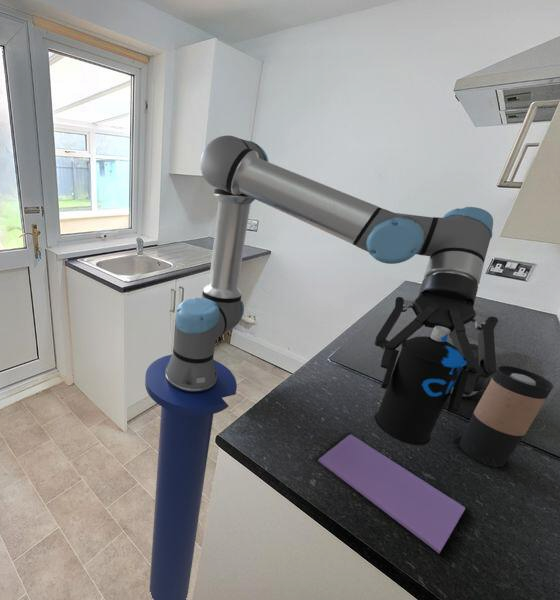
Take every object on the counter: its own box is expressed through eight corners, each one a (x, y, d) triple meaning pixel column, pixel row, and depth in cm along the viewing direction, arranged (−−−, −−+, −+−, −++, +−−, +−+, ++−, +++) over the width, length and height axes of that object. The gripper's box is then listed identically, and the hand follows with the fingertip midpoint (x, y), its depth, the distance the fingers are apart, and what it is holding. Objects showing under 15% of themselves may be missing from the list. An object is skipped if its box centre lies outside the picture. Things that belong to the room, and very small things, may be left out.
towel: (318, 461, 64) (318, 458, 63) (349, 435, 71) (350, 433, 70) (439, 553, 48) (440, 551, 48) (464, 510, 55) (465, 507, 55)
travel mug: (452, 434, 73) (489, 361, 65) (495, 447, 70) (539, 372, 62) (465, 458, 66) (508, 380, 59) (513, 474, 63) (565, 393, 56)
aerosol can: (363, 417, 58) (398, 320, 51) (392, 408, 61) (429, 315, 54) (410, 451, 51) (458, 344, 44) (440, 438, 54) (490, 336, 47)
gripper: (522, 308, 53) (497, 434, 47) (378, 280, 65) (343, 378, 59) (547, 285, 47) (522, 426, 41) (383, 259, 59) (345, 365, 53)
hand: (417, 397), depth 50 cm, fingers closed on aerosol can, 8 cm apart
